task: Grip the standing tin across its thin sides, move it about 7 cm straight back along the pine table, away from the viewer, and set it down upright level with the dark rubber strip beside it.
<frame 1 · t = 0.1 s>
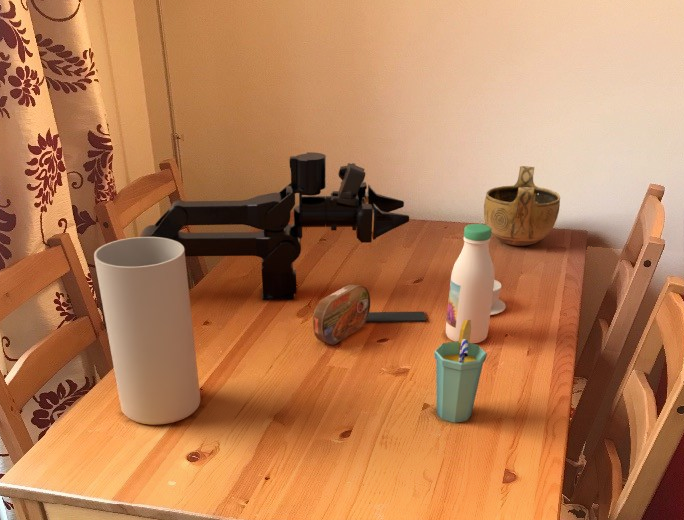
hand: (406, 211, 154), 17 cm above the table, tool horizontal, fingers open, 9 cm apart
tin: (341, 335, 148), on the table
teacup: (479, 308, 158), on the table
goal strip: (394, 318, 153), on the table
cup: (454, 418, 123), on the table
milk bottle: (466, 336, 147), on the table
cylinder vase: (161, 407, 127), on the table
ceramic bowl: (516, 242, 188), on the table
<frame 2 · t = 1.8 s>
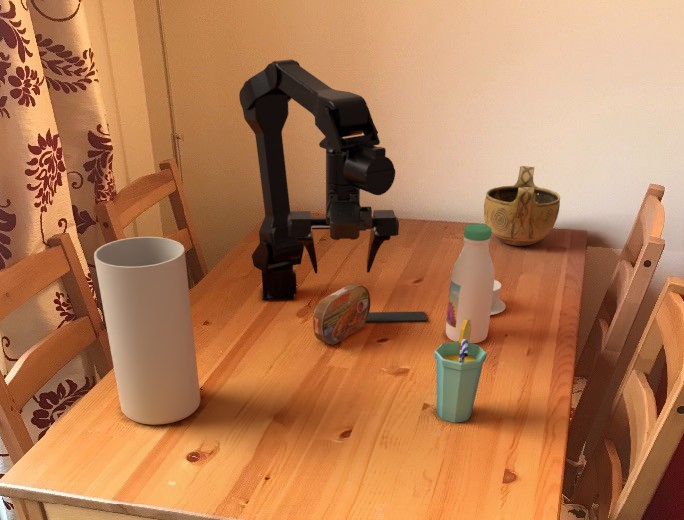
hand: (342, 272, 141), 12 cm above the table, tool pointing down, fingers open, 9 cm apart
nothing on the table moved.
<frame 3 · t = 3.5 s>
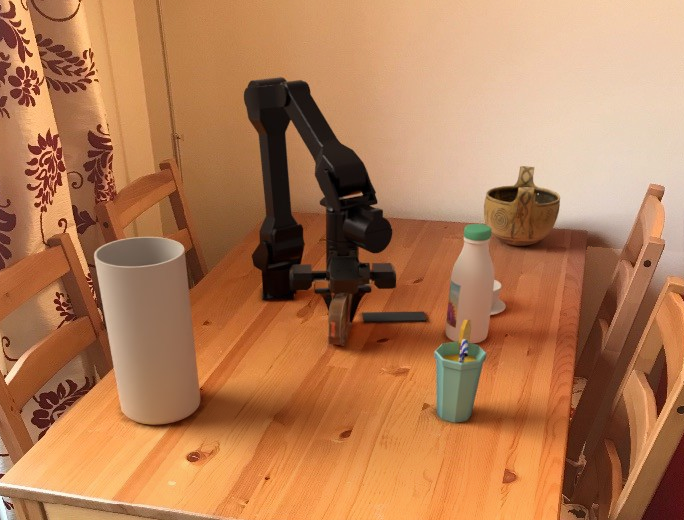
hand: (341, 321, 146), 3 cm above the table, tool pointing down, fingers closed on tin, 3 cm apart
tin: (339, 335, 147), on the table, touching gripper
everything else where it was.
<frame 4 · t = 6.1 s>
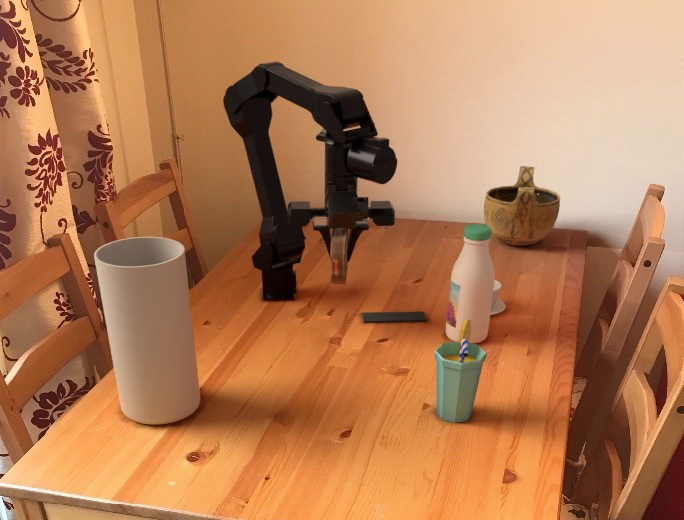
hand: (339, 261, 145), 12 cm above the table, tool pointing down, fingers closed on tin, 3 cm apart
tin: (338, 276, 147), point 9 cm above the table, touching gripper
everything else where it was.
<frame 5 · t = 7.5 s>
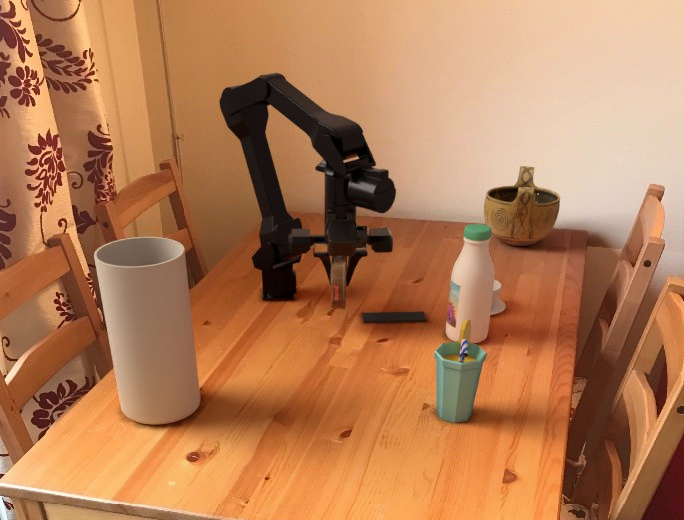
hand: (339, 285, 149), 7 cm above the table, tool pointing down, fingers closed on tin, 3 cm apart
tin: (337, 300, 151), point 4 cm above the table, touching gripper
everything else where it was.
when the fingers open (3 cm above the table, at t = 8.9 s): tin stays where it is, on the table.
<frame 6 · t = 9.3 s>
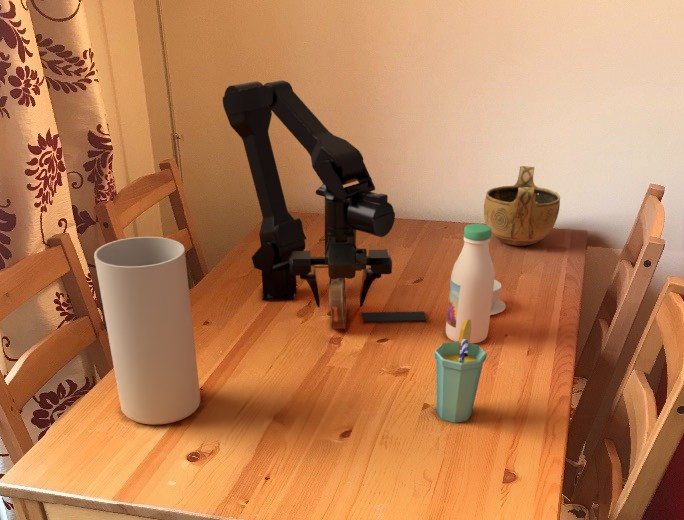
hand: (339, 306, 152), 3 cm above the table, tool pointing down, fingers open, 8 cm apart
tin: (337, 320, 153), on the table
everything else where it was.
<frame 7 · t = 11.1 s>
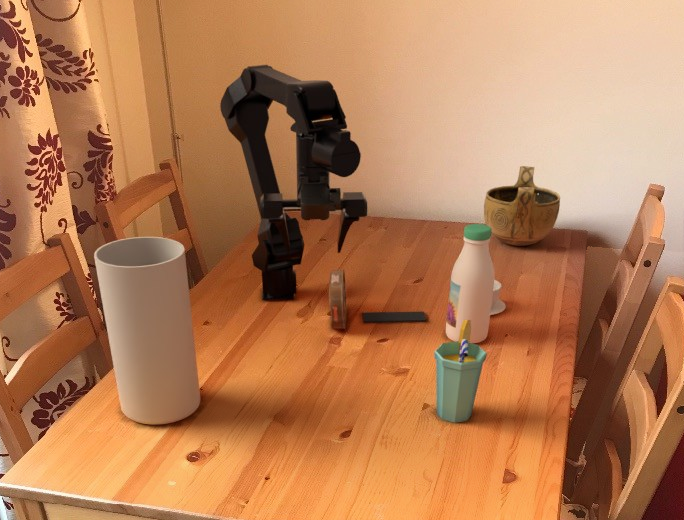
hand: (313, 252, 146), 13 cm above the table, tool pointing down, fingers open, 9 cm apart
nothing on the table moved.
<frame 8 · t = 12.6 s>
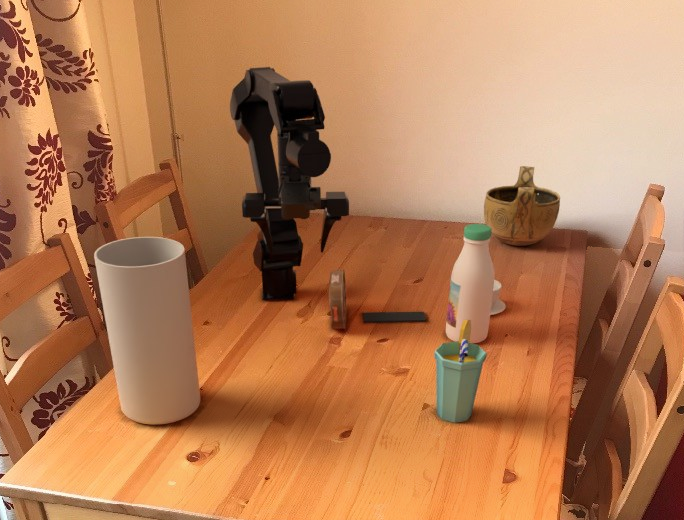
hand: (296, 252, 146), 13 cm above the table, tool pointing down, fingers open, 9 cm apart
nothing on the table moved.
at the end: tin 0.5 cm from the target spot, on the table; tin tilted 0°; the gripper is holding nothing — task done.
